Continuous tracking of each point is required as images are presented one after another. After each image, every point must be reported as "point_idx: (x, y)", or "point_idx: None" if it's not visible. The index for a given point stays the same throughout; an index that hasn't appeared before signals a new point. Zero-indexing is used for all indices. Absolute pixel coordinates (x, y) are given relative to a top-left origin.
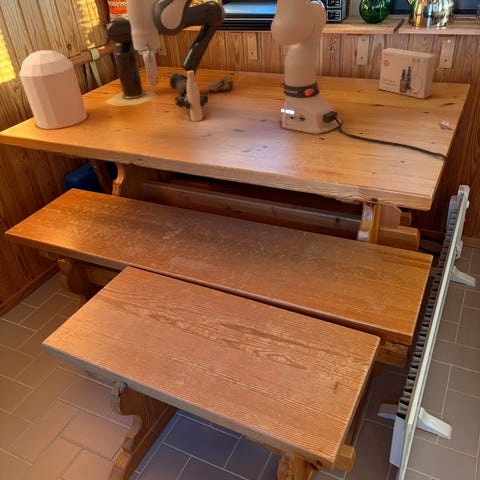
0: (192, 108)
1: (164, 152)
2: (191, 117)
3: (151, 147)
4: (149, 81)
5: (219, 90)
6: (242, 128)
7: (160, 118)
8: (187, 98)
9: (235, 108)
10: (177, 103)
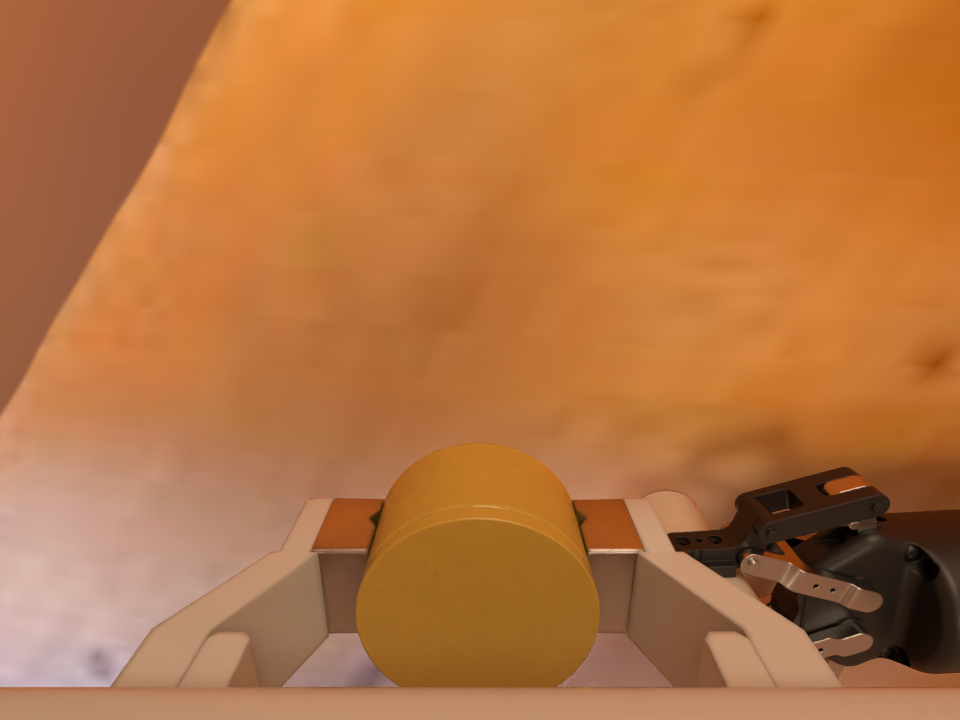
0: None
1: (169, 286)
2: (654, 507)
3: (278, 204)
4: (388, 511)
5: None
6: None
7: (826, 304)
8: (784, 583)
9: None
10: (805, 488)
